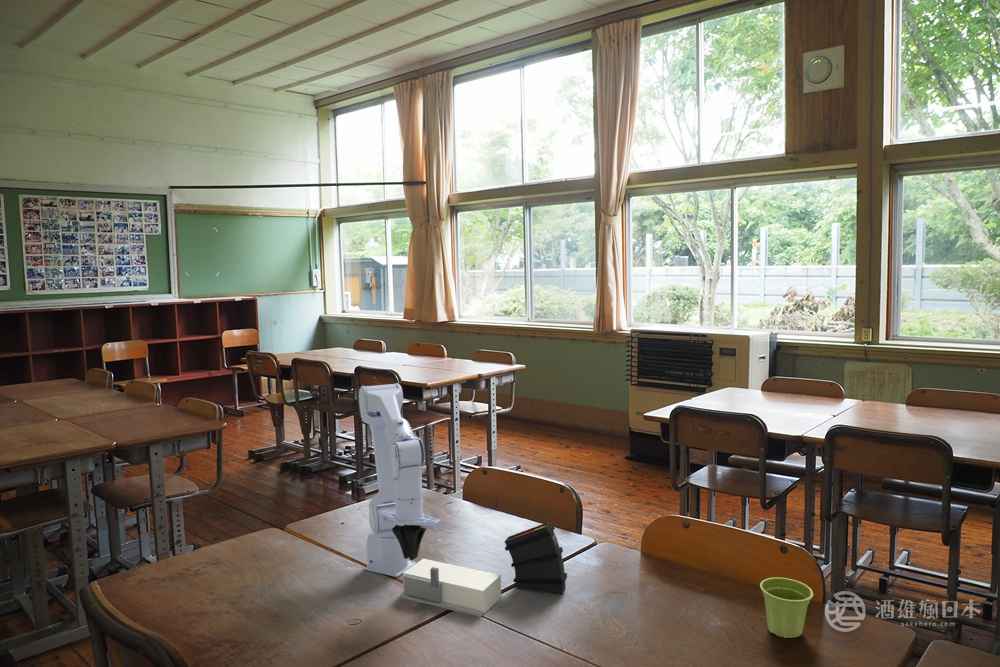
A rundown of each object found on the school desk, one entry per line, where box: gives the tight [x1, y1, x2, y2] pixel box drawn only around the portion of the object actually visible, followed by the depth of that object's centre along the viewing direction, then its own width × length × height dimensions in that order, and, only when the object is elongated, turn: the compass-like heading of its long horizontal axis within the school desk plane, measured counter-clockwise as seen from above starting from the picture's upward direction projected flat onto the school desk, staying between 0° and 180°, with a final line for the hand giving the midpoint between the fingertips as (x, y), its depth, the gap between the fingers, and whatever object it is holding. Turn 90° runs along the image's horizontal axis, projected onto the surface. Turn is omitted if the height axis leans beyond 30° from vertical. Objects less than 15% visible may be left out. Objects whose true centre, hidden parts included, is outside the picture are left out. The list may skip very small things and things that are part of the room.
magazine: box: [504, 521, 568, 596], centre depth 151 cm, size 4×13×15 cm, turn 70°
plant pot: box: [759, 577, 814, 639], centre depth 132 cm, size 9×9×9 cm
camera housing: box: [399, 558, 502, 618], centre depth 148 cm, size 20×9×5 cm, turn 63°
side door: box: [404, 567, 441, 602], centre depth 146 cm, size 9×1×7 cm, turn 63°
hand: (410, 557), depth 147 cm, fingers closed
